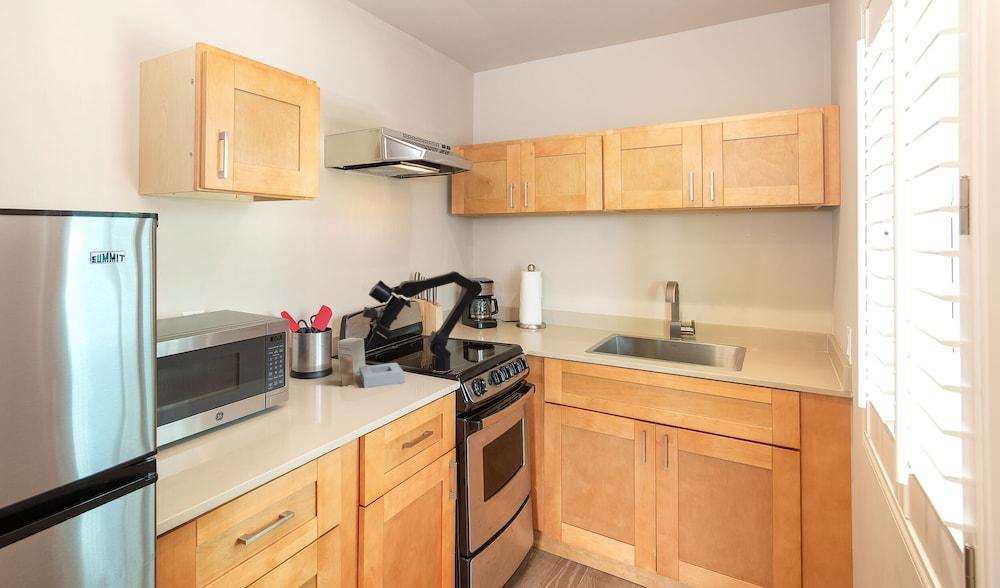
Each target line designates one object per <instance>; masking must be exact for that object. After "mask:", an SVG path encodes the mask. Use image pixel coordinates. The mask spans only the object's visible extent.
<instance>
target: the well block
mask: <svg viewBox="0 0 1000 588" xmlns="http://www.w3.org/2000/svg"><path fill="white" fill-rule="evenodd" d="M358 373H359V379H360V381H361V384H362V385H364V386H363V387H364V389H368V388H367V387H370V388H376V387H383V386H384V387H385V386H391V385H398V384H405V372H404V370H403V368H402V367H401V366H400V365H399V364H398V363H397V362H391V363H390V362H389V363H382V364H373V365H365V366H363V367H359V372H358Z"/></svg>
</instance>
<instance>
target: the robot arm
mask: <svg viewBox="0 0 1000 588" xmlns="http://www.w3.org/2000/svg"><path fill="white" fill-rule="evenodd" d="M453 283H454V284H456V285H458V287H461V289H460V293H459V298H458V299H457V301H456V302H455V304H454V305H453V307H452V309H451V310H450V312H449V313H448V315H447V317H446V318H445V320H444V321H443V322H442V325H441V326H440V328H439V329H437V331H434V330H431V333H430V334H429V336H428V337H427V338H426V340H427V341H426V348H427V349H428V350H429V352H431V354H432V357H431V370H432V369H433V370H436V371H448V370H450V369H451V355H452V353H451V351H450V350H448V349H447V346H448V341H449V338H450V334H451V333H452V331H453V330H454V328H455V326H456V325H457V324H458V322H459V321H460V319H461V317H462V316H463V314H464V313H465V311H466V310H467V308H468V306H469V305H470V304H471V303H472V302H474V301H475V300H476V299H477V298H478V296H480V295H481V293H482V292H483V291H482V290H483V287H482V285H481V283H480V282H479V281H476V280H473V279H469V278H467V277H465V276H463V275H462V274H461V273H459V272H458V271H450V272H446V273H444V274H440V275H436V276H432V277H429V278H425V279H420V280H419V279H417V280H413V279H412V280H404V281H401V282H400V284H399V285H396V286H392V287H390V286H388V285H387V284H385V282H384V281H382V280H378V282H377V283H376V284H375V285H374V286H372V288H371V289H370V291H369V293H368V297H371V298H372V299H374V300H375V301H376V302H378V303H380V304H383V303H384V304H385V306H384V307H382V308H380V310H379V309H376V308H374V307H367V306H364V307H363V312H362V317H363V318H366V319H369V320H368V321H369V322H368V325H369V330H368V332H367V334H366V337H365V338H364V344H366V347H365V348H366V349H367V350H370V349H372V348H373V347H375V346H377V345H378V344H380V343H382V342H384V341H385V340H387V339H390V337H391V336H392V330H391V328H392V327H391V326H392V324H394V322H395V321H397V320H398V316H399V314H400V313H401V312H402V310H403V309H404V308H405V307H408V308H411V307H412V306H411V300H410V298H413V297H415V296H418V295H420V294H421V293H423V292H424V291H427V290H430V289H435V288H438V287H439V288H440V287H442V286H446V285H451V284H453ZM394 294H395V295H394ZM396 295H397V296H396ZM405 298H406V299H405Z"/></svg>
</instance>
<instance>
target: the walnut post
mask: <svg viewBox="0 0 1000 588" xmlns="http://www.w3.org/2000/svg"><path fill="white" fill-rule="evenodd" d="M340 368H341V372H340V382H341V383H342V384H341V387H342V386H346V387H349V386H348V385H353V386H355V378H354V375H355V374H353V358H352V356H342V357H340Z"/></svg>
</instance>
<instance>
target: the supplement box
mask: <svg viewBox="0 0 1000 588" xmlns="http://www.w3.org/2000/svg"><path fill="white" fill-rule="evenodd" d="M364 341H365V338H359V337H347V338H344V339H341V340H337V344H336V345H337V354H338V355H337V356H338V369H339V371H338V372H339V373H341V368H340V357H342V356H352V358H353V374H354V373H355V374H357V373H359V367H363V366H366V351H365V343H364ZM355 374H354V375H355Z"/></svg>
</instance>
